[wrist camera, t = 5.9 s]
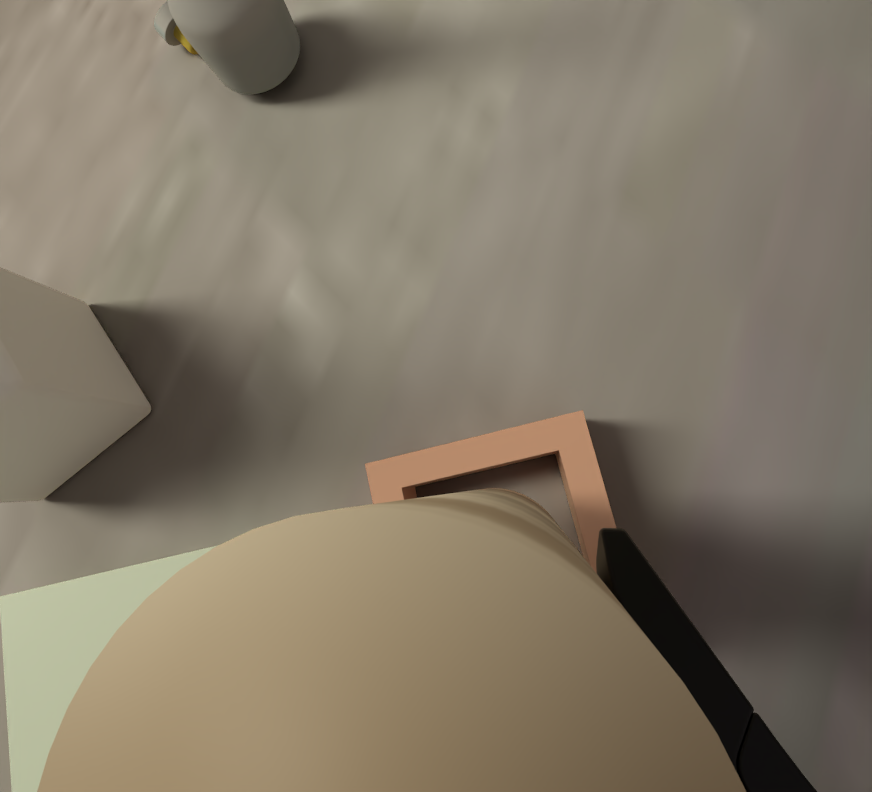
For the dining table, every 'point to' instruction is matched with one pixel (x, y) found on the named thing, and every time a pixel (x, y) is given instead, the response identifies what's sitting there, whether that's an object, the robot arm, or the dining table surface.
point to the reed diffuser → (235, 39)
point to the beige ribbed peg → (387, 667)
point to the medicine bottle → (56, 389)
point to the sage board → (63, 650)
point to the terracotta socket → (506, 448)
